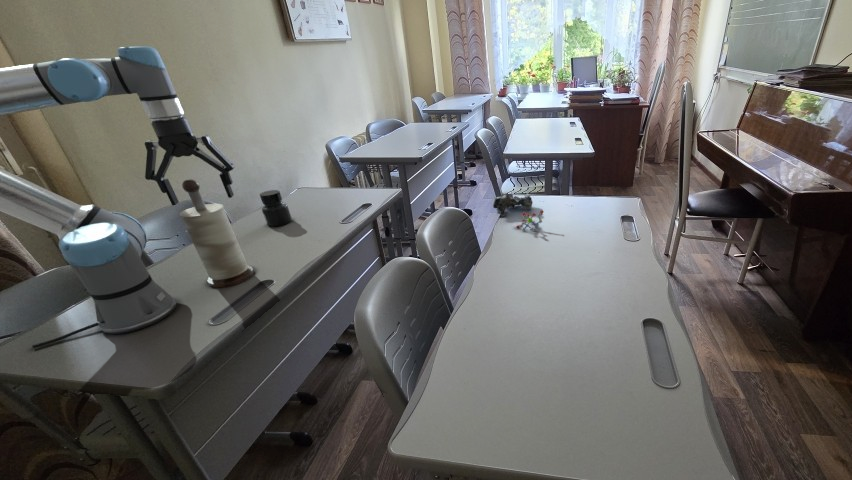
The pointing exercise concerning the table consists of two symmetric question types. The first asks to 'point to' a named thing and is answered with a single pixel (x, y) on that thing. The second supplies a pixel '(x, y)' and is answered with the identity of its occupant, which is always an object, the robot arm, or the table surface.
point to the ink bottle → (275, 208)
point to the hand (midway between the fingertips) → (204, 200)
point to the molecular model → (530, 221)
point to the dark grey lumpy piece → (511, 202)
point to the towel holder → (214, 240)
